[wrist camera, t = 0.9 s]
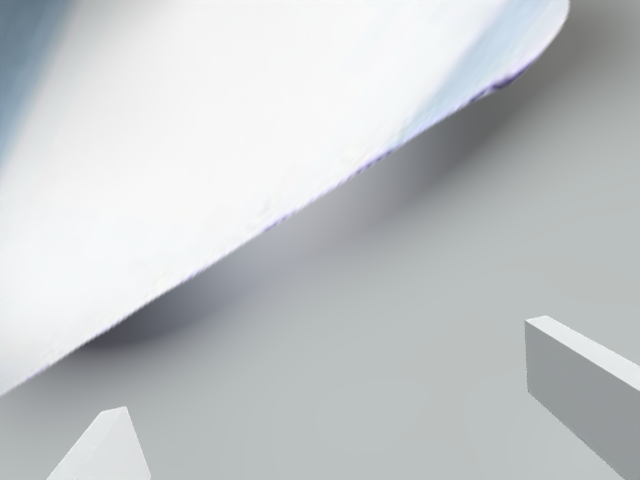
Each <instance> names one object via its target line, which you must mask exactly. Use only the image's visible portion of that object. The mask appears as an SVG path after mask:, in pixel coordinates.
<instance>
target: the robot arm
mask: <svg viewBox="0 0 640 480" xmlns="http://www.w3.org/2000/svg"><path fill="white" fill-rule="evenodd" d="M525 341H526V362H527V383H528V392H529V393H530V394H531V395H532V396H534V397H535V398H536V399H537V400H538V401H539V402H540V403H541V404H542V405H543V406H544V407H546V408H547V409H548V410H549V411H550V412H551V413H552V414H553V415H554V416H555V417H557V418H558V419H559V420H560V421H561V422H562V423H563V424H564V425H566V427H567V428H569V429H570V430H571V431H572V432H573V433H574V434H575V435H576V436H577V437H579V438H580V439H581V440H582V441H583V442H584V443H585V444H586V445H587V446H588V447H590V448H591V449H592V450H593V451H594V452H595V453H596V454H597V455H598V456H599V457H600V458H602V459H603V460H604V461H605V462H606V463H607V464H608V465H609V466H610V467H611V468H613V469H614V470H615V471H616V472H617V473H618V474H619V475H620V476H622V478H624V479H625V480H640V366H638V365H636V364H634V363H633V362H631V361H629V360H627V359H625V358H623V357H622V356H620V355H618V354H616V353H614V352H613V351H611V350H609V349H607V348H605V347H603V346H602V345H600V344H598V343H596V342H594V341H592V340H590V339H589V338H587V337H585V336H583V335H581V334H579V333H578V332H576V331H574V330H572V329H570V328H568V327H567V326H565V325H563V324H561V323H559V322H557V321H556V320H554V319H552V318H550V317H548V316H541V317H537V318H532V319H527V320H525ZM150 479H151V474H150V471H149V468H148V466H147V463H146V460H145V457H144V455H143V452H142V449H141V447H140V443H139V441H138V438H137V435H136V432H135V429H134V427H133V424H132V421H131V418H130V416H129V413H128V410H127V407H126V406H124V407H120V408H115V409H110V410H105V411H101V412H100V413H99V415H98V416H97V417H96V418H95V420H94V421H93V422H92V423H91V425H90V426H89V427H88V428H87V430H86V431H85V432H84V433H83V434H82V436H81V437H80V438H79V439H78V441H77V442H76V443H75V444H74V446H73V447H72V448H71V449H70V450H69V452H68V453H67V454H66V455H65V457H64V458H63V459H62V460H61V462H60V463H59V464H58V465H57V466H56V468H55V469H54V470H53V471H52V473H51V474H50V475H49V476H48V478H47V479H46V480H150Z"/></svg>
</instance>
